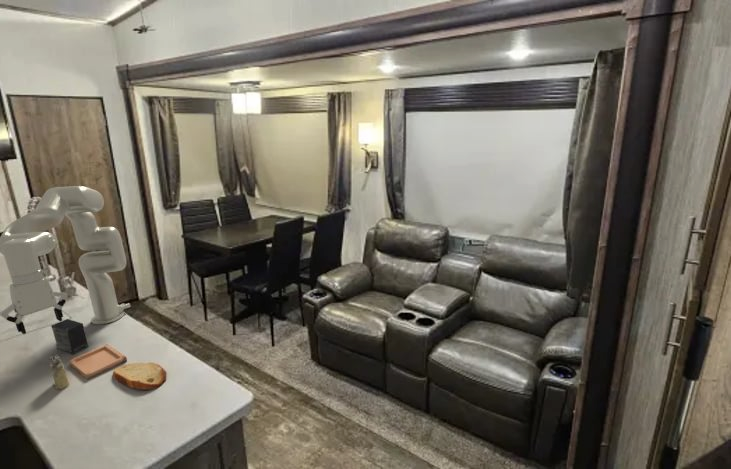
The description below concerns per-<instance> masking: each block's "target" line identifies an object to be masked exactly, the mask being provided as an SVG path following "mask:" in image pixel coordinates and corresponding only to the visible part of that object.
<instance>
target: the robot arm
mask: <svg viewBox="0 0 731 469" xmlns="http://www.w3.org/2000/svg"><path fill="white" fill-rule="evenodd" d="M104 200H105V199H104V197H103V194H101V193H100V191H98V190H96V189H92V188H90V187H87V186H83V185H73V186H54V187H51V188H48V189H47V190H46V191H45V192H44V194H42V197H41V198H40V200H39V202H38V204H37V205H36V206H35V208H34V210H32V211H30V212H29V213H26V214H25V215H22V216H21V217H19V218H17V219H15V220H14V221H12V222H11V223H9V224H8V225H7V226H6V227H5V229H4V230H3V231H2V233H1V234H0V254H1V255H2V256H4V260H5V263H6V266H7V270H8V273H9V275H10V276H9V277H10V280H11V284H10V285H9V294H10V301H11V303H12V304H10V305H8V306H7V307H6V308H5V309H4V310H2V311H1V312H0V316H1V317H2V318H4V319H5V320H7V322H11V323H15V326H16V329H17V331H18V333H21V334H23V335H26V334H27V330H26V327H25V325H24V322H23V318H24V317H25V316H28V315H32V314H34V313H37V312H40V311H44V310H47V309H49V308H52V307H53V311H54V314H55V315H54V316H55V319H56V320H57V321H59V322H61V321H63V317H64V314H63V311H62V309H63V307H64V305H65V304H66V303H67V299H68V296H69V295H68V293H67V292H61V291H53V290H54V289H53V288H52V286H51V284H50V282H49V279H48V278H47V277H46V276H45V275H46V274H49V270H48V269H47V268H45V269H43V268H41V263H40V260H39V257H41V256H44V255H47V254H49V253H51V252H52V251H54V249H55V247H56V245H57V240H56V237H55V236H54V234H53V233H51V232H49V231H48V230H51V229H54V228H55V227H57V226H59V225H60V224H61V223H63V220H64V218H65V217H66V218H67V219H68V220H69V221H70V224H71V227H72V230H73V233H74V238H75V242H76V243H77V244H76V245H77V246H78V248H79V249H80V250H81V251H91V252H87V253H84V254H81V256H80V257H79V259H78V263H77V264H78V267H79V269H80V272H81V273H82V276H83V278H84V281H85V283H86V284H85V285H86V286H87V287H86V288H87V291H88V295H89V299H90V302H91V306H92V310H93V314H94V315H93V317H91V323H92V324H94V325H105V324H109V323H113V322H115V321H118V320H120V319H121V318H123V317H124V315H125V311H124V310H125V309H128V308H131V303H129V302H128V303H121V304H118V298H117V296H116V291H115V287H114V286H115V285H114V282H113V279H112V278H111V276H110V275H109V274H108V273H112V272H113V273H114V272H119V271H123V270H124V269H125V268H126V267H127V256H126V252H125V248H124V244H123V240H122V236H121V234H120V231H119V230H118V228H116V227H113V226H103V227H102V226H100V227H99V225H98V224H97V220H96V217H95V215H94V214H93V213H95V212H96V213H97V212H99V211H101V210H102V209H103V208H104V206H105V201H104ZM98 250H101V251H98ZM56 297H60V298H59V300H58V302H57V299H56ZM13 311H14V312H15V315H14V316H11V315H9V314H10V313H11V312H13Z"/></svg>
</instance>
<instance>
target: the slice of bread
mask: <svg viewBox="0 0 731 469" xmlns="http://www.w3.org/2000/svg"><path fill="white" fill-rule="evenodd" d="M112 378H114V379H115V381H116V382H118V383H121V384H122V385H124V386H126V387H129V388H131V389H137V390H143V391H144V390H145V391H146V390H149V391H150V390H154V389H158V388H161V387H162V386H163V384H165V383H166V381H167V371H166V369H164V368H163V367H162V366H161V365H160V364H158V363H155V362H134V363H128V364H124V365H121V366H119V367H118V366H117V367H116V368H115V369H113V373H112Z"/></svg>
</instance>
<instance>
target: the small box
mask: <svg viewBox="0 0 731 469" xmlns="http://www.w3.org/2000/svg"><path fill="white" fill-rule="evenodd" d="M50 327H51V329H52V332H53V336H54V340H55V344H56V347H57V348H56V349H57V350H60V351H63V352H65V353H69V354H71V355H74V354H76V353H78V352H80V351H83V350H84V349H86V348H89V342H88V339H87V335H86V332H85V328H84V323H82V322H80V321H77V320H72V319H69V318H67V319H64V320H62V321H59V322H56V323H55V324H52V325H51V326H50Z"/></svg>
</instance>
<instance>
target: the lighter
mask: <svg viewBox="0 0 731 469" xmlns="http://www.w3.org/2000/svg"><path fill="white" fill-rule="evenodd" d="M49 359H50V361H49V368H50V372H51V375H52V378H53V379H52V380H53V382H54V388H56V390H63V389H66V388H67V387H69V385H70V382H69V380H68V376H67V372H66V369H65V365H64V364H63V362H62V359H61V358H60V356H59V355H55V356H50V357H49Z"/></svg>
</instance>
